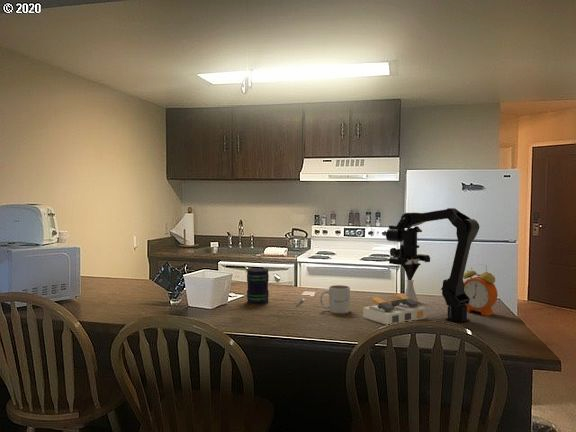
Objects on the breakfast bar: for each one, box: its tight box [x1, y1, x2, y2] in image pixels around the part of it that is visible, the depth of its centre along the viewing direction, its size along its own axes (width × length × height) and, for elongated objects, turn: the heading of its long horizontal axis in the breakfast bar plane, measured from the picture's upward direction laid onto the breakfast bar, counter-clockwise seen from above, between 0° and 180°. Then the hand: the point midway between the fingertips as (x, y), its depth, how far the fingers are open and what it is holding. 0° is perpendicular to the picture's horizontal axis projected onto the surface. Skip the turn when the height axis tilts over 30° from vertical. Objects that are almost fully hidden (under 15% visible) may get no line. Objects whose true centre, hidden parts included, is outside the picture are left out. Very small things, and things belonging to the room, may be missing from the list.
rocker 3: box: [394, 293, 419, 307], centre depth 190 cm, size 9×4×2 cm, turn 32°
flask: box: [403, 279, 419, 303], centre depth 216 cm, size 7×7×10 cm
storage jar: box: [246, 267, 270, 306], centre depth 214 cm, size 10×10×15 cm
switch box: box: [362, 303, 427, 326], centre depth 186 cm, size 14×20×5 cm
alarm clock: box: [463, 263, 499, 317], centre depth 195 cm, size 13×6×20 cm, turn 40°
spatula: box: [295, 291, 316, 308], centre depth 220 cm, size 6×29×2 cm, turn 166°
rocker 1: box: [370, 296, 394, 312], centre depth 183 cm, size 9×4×2 cm, turn 32°
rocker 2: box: [384, 299, 406, 307], centre depth 186 cm, size 9×4×2 cm, turn 32°
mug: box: [319, 284, 351, 314], centre depth 199 cm, size 12×9×10 cm
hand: (409, 280), depth 198 cm, fingers closed
